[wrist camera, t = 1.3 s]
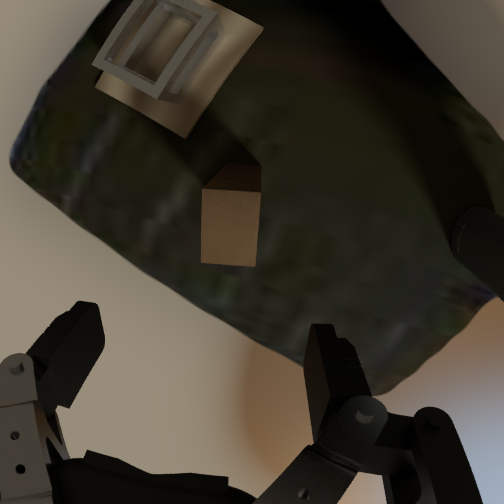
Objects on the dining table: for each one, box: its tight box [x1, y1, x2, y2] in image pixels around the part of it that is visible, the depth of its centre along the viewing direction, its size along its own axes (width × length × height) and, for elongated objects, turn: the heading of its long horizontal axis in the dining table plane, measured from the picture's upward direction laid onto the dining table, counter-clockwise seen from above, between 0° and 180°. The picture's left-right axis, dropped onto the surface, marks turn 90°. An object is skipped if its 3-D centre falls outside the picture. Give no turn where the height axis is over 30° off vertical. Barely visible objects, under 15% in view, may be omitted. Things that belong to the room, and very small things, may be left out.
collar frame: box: [92, 0, 227, 104], centre depth 27 cm, size 8×10×8 cm
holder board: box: [95, 0, 263, 139], centre depth 31 cm, size 14×16×1 cm
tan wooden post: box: [201, 163, 261, 267], centre depth 30 cm, size 4×6×16 cm
